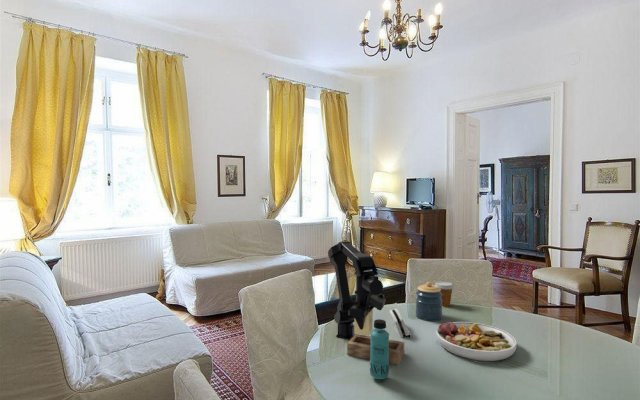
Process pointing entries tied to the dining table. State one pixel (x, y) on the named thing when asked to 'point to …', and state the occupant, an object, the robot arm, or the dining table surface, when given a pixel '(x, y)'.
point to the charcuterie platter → (476, 341)
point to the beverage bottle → (379, 350)
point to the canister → (429, 302)
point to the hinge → (399, 323)
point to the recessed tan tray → (361, 348)
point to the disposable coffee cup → (445, 292)
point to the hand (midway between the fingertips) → (363, 327)
